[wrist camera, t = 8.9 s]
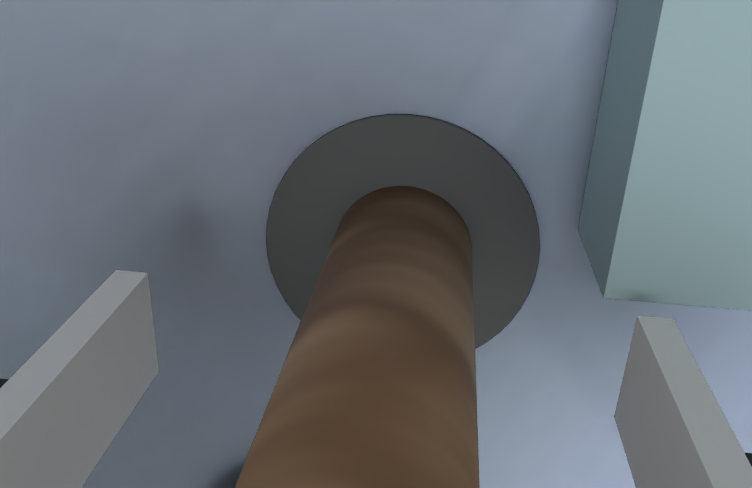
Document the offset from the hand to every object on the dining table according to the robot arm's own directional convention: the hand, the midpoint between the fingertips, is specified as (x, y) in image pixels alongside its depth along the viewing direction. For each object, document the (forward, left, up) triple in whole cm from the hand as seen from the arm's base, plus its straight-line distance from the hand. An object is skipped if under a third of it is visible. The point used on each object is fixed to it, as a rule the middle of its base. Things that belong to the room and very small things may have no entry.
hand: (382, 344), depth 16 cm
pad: (0, 0, -5) cm, 5 cm away
